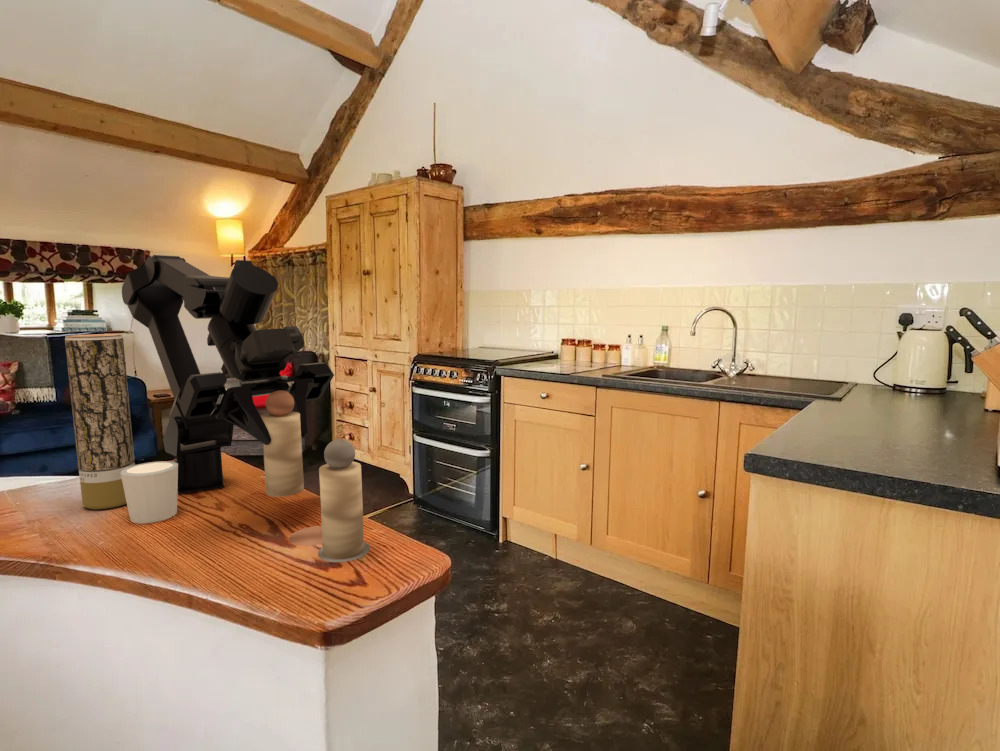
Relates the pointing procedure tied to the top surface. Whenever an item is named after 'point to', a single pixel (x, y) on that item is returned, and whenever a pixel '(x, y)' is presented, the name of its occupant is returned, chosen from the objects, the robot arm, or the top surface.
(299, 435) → the terracotta ball tube
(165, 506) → the white tapered cylinder
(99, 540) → the top surface
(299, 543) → the board
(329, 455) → the grey ball tube
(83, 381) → the paper tube
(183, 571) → the top surface
